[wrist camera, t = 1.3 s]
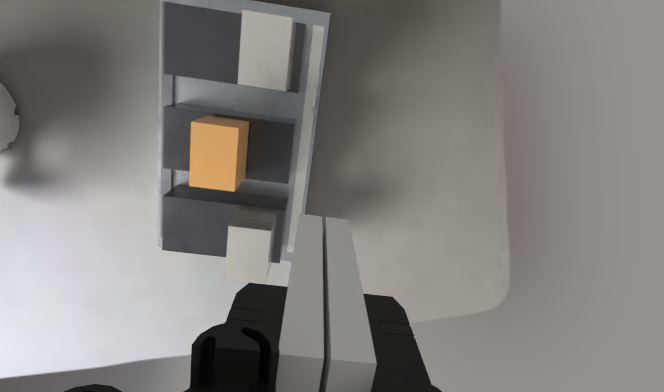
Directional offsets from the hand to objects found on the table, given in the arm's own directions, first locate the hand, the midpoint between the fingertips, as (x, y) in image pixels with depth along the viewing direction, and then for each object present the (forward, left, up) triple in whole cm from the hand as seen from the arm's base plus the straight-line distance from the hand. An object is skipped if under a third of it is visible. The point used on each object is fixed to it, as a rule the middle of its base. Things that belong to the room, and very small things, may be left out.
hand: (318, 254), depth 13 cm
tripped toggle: (-7, 0, -15) cm, 16 cm away
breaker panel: (-7, 0, -20) cm, 21 cm away
